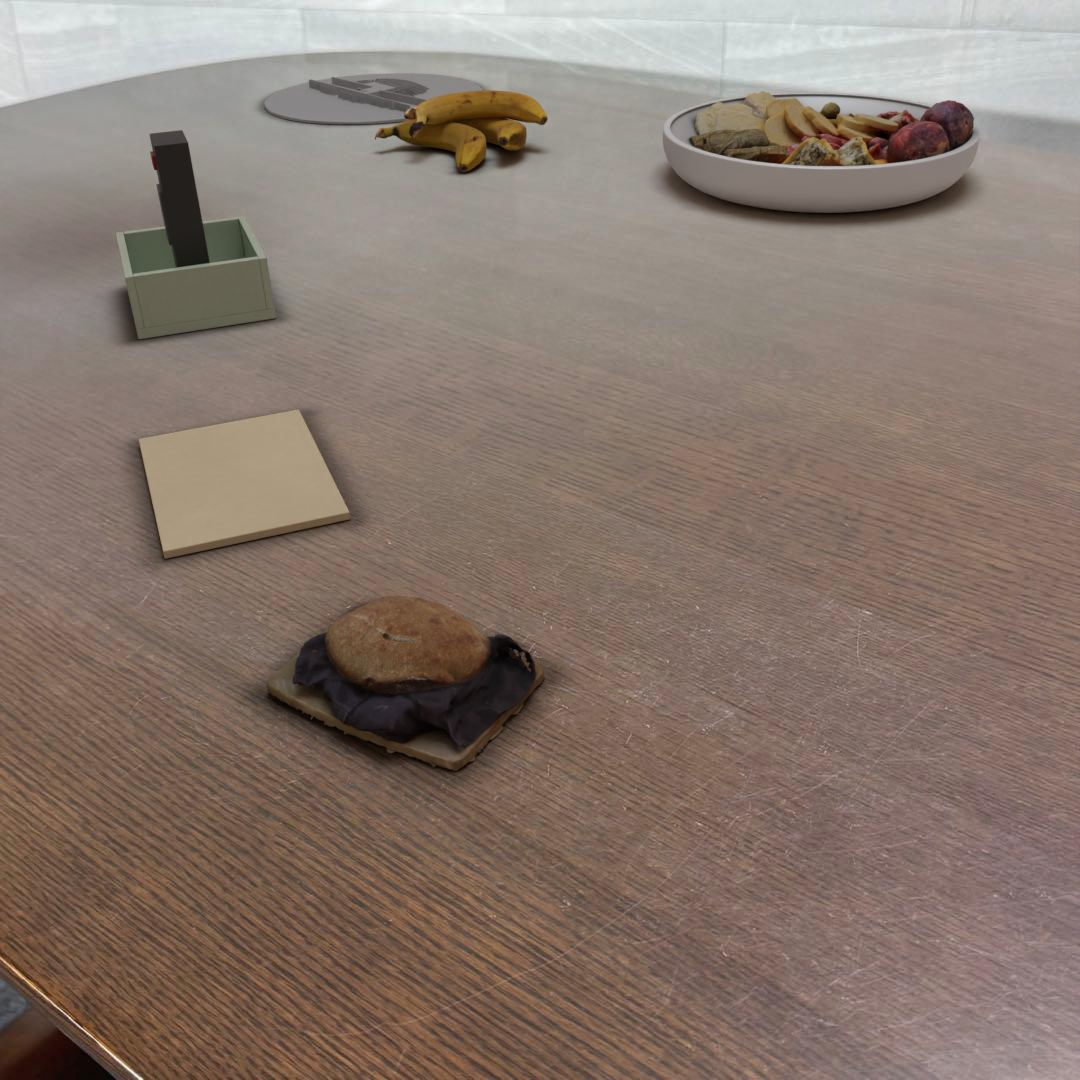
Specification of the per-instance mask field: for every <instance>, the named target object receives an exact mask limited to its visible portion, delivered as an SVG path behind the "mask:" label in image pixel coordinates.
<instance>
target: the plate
mask: <svg viewBox="0 0 1080 1080" xmlns="http://www.w3.org/2000/svg"><path fill="white" fill-rule="evenodd" d="M469 91H484V90H483V89H482V87H481V86H480V85H479V84H477V83H475V82H473V81H471V80H467V79H464V78H462V77H461V78H460V77H456V76H450V75H443V74H431V73H405V72H404V73H402V72H401V73H370V74H369V73H368V74H355V75H344V76H337V77H336V76H331V77H330V78H329V77H328V78H323V79H318V80H316V79H313V78H312V79H311V78H310V79H309V80H308V82H303V83H299V84H295V85H292V86H288V87H287V88H283V89H281V90H279V91H276V92H275V93H273V94H271V95H270V96H269V97H267V98H266V99H265V100H264V108H265V110H266V111H267V113H269V114H271V115H272V116H274V117H277V118H281V119H283V120H288V121H292V122H299V123H307V124H318V125H319V124H320V125H376V124H379V125H380V124H390V123H392V124H393V123H401V122H404V121H408V120H411V119H406V118H405V117H404V114H405V111H406V110H407V109H410V108H413V107H417V106H418V105H419V104H420V103H422V102H424V101H426V100H428V99H431V98H434V97H438V96H442V95H447V94H452V93H459V92H469Z"/></svg>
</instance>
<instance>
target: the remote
mask: <svg viewBox="0 0 1080 1080" xmlns="http://www.w3.org/2000/svg"><path fill="white" fill-rule="evenodd" d="M149 139H150V143H151V148H152V150H151V151H149V154H150V158H151V159H150V160H151V164H152V167H153V170H154V171H156V174H157V175H156V176H157V179H158V183H156V190H157V196H158V200H159V205H160V211H161V215H162V220H163V226H165V231H166V236H167V239H168V242H169V245H171V246H172V251H173V256H174V261H175V266H176V268H178V267H185V266H192V265H199V264H206V263H210V261H209V255H208V250H207V244H206V239H205V233H204V228H203V222H202V221H203V216H202V212H201V205H200V200H199V194H198V190H197V189H198V188H197V184H196V179H195V173H194V167H193V162H192V161H193V160H192V157H191V152H190V151H191V150H190V145H189V141H188V139H187V137H186V135H185V133H184V131H183V129H180V130H172V131H171V130H170V131H161V132H152V133H149Z"/></svg>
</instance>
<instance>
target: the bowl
mask: <svg viewBox="0 0 1080 1080" xmlns="http://www.w3.org/2000/svg"><path fill="white" fill-rule="evenodd" d="M974 121H975V117H974V114H973V113H972V111H971V110H970V109H969V108H968V107H967V106H965V104H964V103H962V102H959V101H958V102H957V101H956V100H950V99H947V100H944V101H940V102H936V103H934V104H933V105H932V104H928V103H923V102H920V101H915V100H910V99H909V100H908V99H904V98H903V99H902V98H896V97H889V96H882V95H881V96H880V95H873V94H872V95H871V94H860V93H859V94H858V93H847V92H820V91H819V92H817V91H816V92H815V91H813V92H811V91H810V92H807V91H806V92H805V91H804V92H775V93H774V92H773V93H770V92H766V91H765V90H761V91H760V92H758V93H757V92H753V93H748V94H747V95H741V96H733V97H727V98H721V99H716V100H710V101H707V102H702V103H698V104H695V105H692V106H689V107H686V108H684V109H682V110H679V111H678V112H675V113H673V114H672V115H671V116H670V117H668V118H667V119H666V120H665V122H664V123H663V125H662V126H663V127H662V146H663V151H664V154H665V157H666V160H667V162H668V163H669V165H670V167H671V168H672V170H673V171H674V172H675V174H677V176H679V177H680V178H681V179H682V180H683V181H684V182H686V183H687V184H688V185H689V186H691V187H693V188H695V189H696V190H698V191H699V192H702V193H704V194H707V195H709V196H712V197H715V198H717V199H720V200H723V201H726V202H731V203H735V204H737V205H743V206H748V207H752V208H753V207H754V208H760V209H766V210H772V211H773V210H774V211H782V212H793V213H794V212H796V213H812V214H813V213H814V214H815V213H817V214H818V213H819V214H830V213H831V214H836V213H838V214H839V213H857V212H858V213H860V212H870V211H877V210H886V209H892V208H897V207H902V206H906V205H910V204H913V203H917V202H921V201H923V200H926V199H928V198H932V197H934V196H937V194H940V193H942V192H944V191H945V190H947V189H949V188H950V187H952V186H953V185H954V184H956V183H957V182H958V181H959V180H960V179H961V178H963V176H964V175H965V174H966V173H967V171H968V170H969V169H970V167H971V166H972V164H973V162H974V160H975V157H976V156H977V152H978V149H979V145H980V137H981V131H980V129H979V127H978V125H977V124H975V122H974Z"/></svg>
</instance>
